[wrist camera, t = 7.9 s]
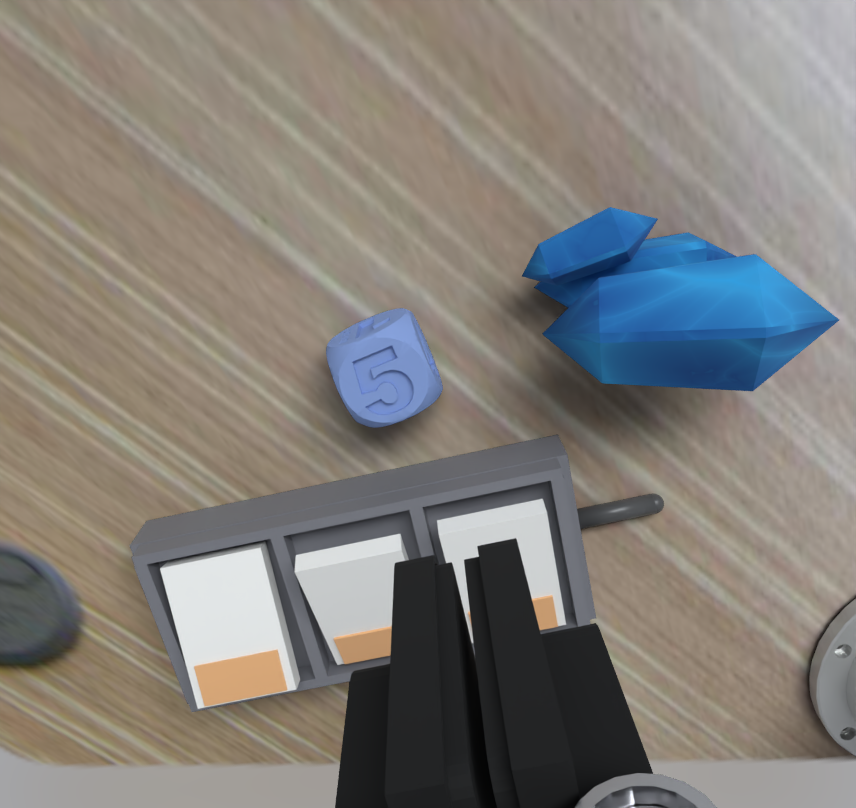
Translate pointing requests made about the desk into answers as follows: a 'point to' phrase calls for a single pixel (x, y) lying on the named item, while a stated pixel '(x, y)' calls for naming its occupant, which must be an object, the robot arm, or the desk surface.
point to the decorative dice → (384, 369)
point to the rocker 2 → (533, 544)
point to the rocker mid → (353, 595)
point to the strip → (379, 536)
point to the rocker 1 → (231, 625)
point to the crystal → (670, 307)
